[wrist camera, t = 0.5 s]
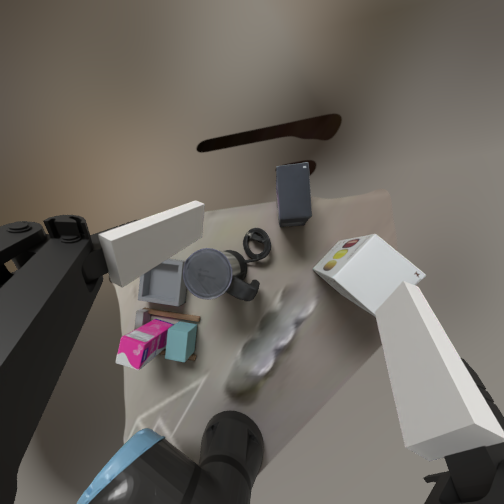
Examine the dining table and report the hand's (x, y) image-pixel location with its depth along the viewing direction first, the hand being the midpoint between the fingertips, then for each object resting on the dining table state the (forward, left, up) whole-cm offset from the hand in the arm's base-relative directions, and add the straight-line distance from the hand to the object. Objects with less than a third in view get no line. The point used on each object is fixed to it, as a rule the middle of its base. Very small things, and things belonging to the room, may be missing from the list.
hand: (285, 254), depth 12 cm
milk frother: (-2, +10, -34) cm, 35 cm away
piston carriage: (-24, +22, -33) cm, 46 cm away
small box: (+12, -1, -34) cm, 36 cm away
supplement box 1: (-24, +29, -34) cm, 50 cm away
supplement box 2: (-2, -14, -34) cm, 37 cm away
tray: (-10, +29, -33) cm, 45 cm away
